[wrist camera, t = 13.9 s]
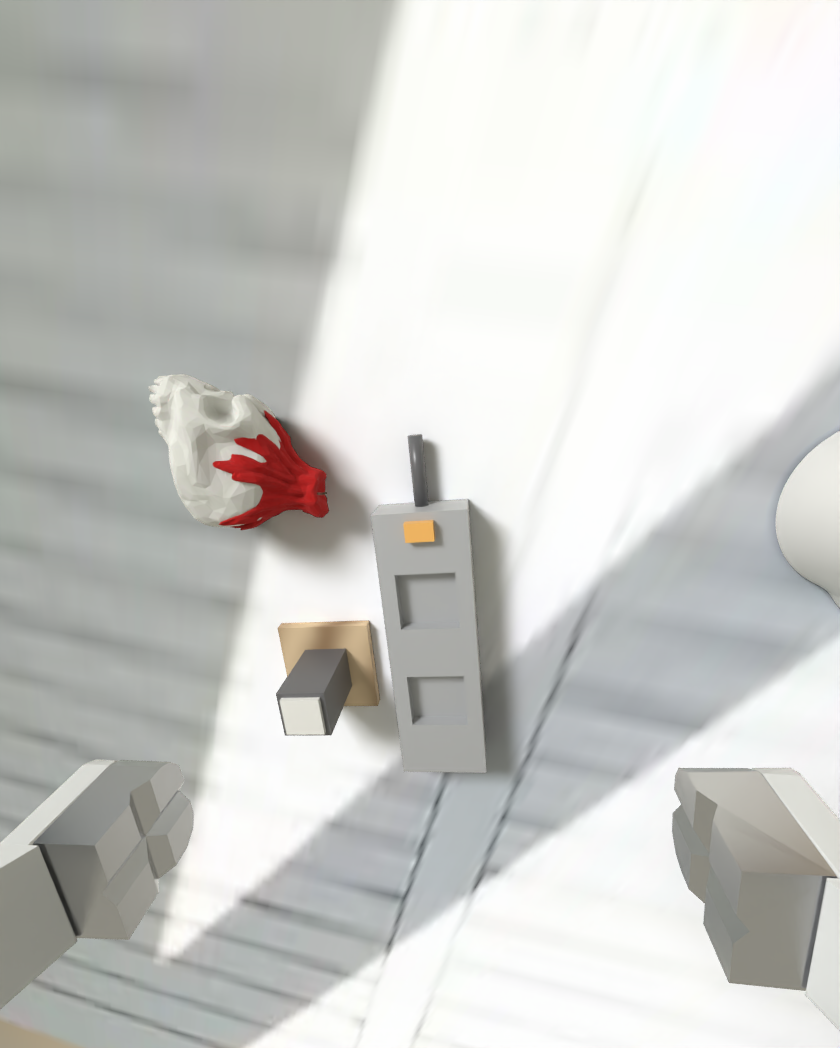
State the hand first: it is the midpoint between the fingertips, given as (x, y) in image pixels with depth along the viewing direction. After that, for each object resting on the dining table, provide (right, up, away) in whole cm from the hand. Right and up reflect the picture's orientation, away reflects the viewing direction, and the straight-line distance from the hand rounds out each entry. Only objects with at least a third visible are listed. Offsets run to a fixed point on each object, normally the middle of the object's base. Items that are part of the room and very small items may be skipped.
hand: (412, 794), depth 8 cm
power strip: (+1, -3, +37) cm, 37 cm away
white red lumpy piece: (-14, +10, +35) cm, 39 cm away
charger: (-9, -10, +39) cm, 41 cm away
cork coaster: (-9, -10, +40) cm, 42 cm away
